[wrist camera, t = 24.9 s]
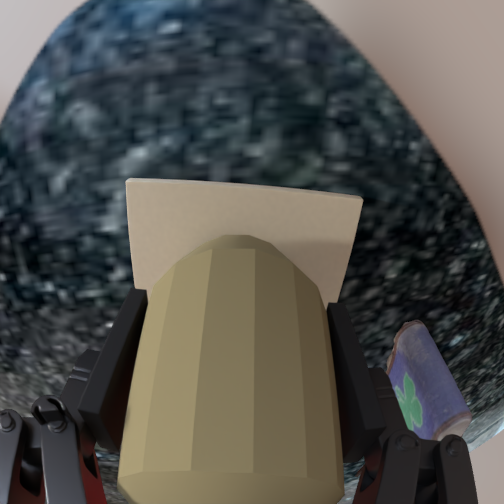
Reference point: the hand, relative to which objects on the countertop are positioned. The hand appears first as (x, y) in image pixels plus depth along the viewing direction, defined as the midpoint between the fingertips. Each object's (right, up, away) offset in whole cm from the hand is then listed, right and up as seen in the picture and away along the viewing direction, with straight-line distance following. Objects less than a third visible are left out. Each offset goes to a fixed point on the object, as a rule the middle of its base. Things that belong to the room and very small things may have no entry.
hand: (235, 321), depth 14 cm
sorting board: (-1, -4, +7) cm, 8 cm away
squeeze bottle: (0, +2, +3) cm, 3 cm away
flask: (+13, -5, +8) cm, 16 cm away
